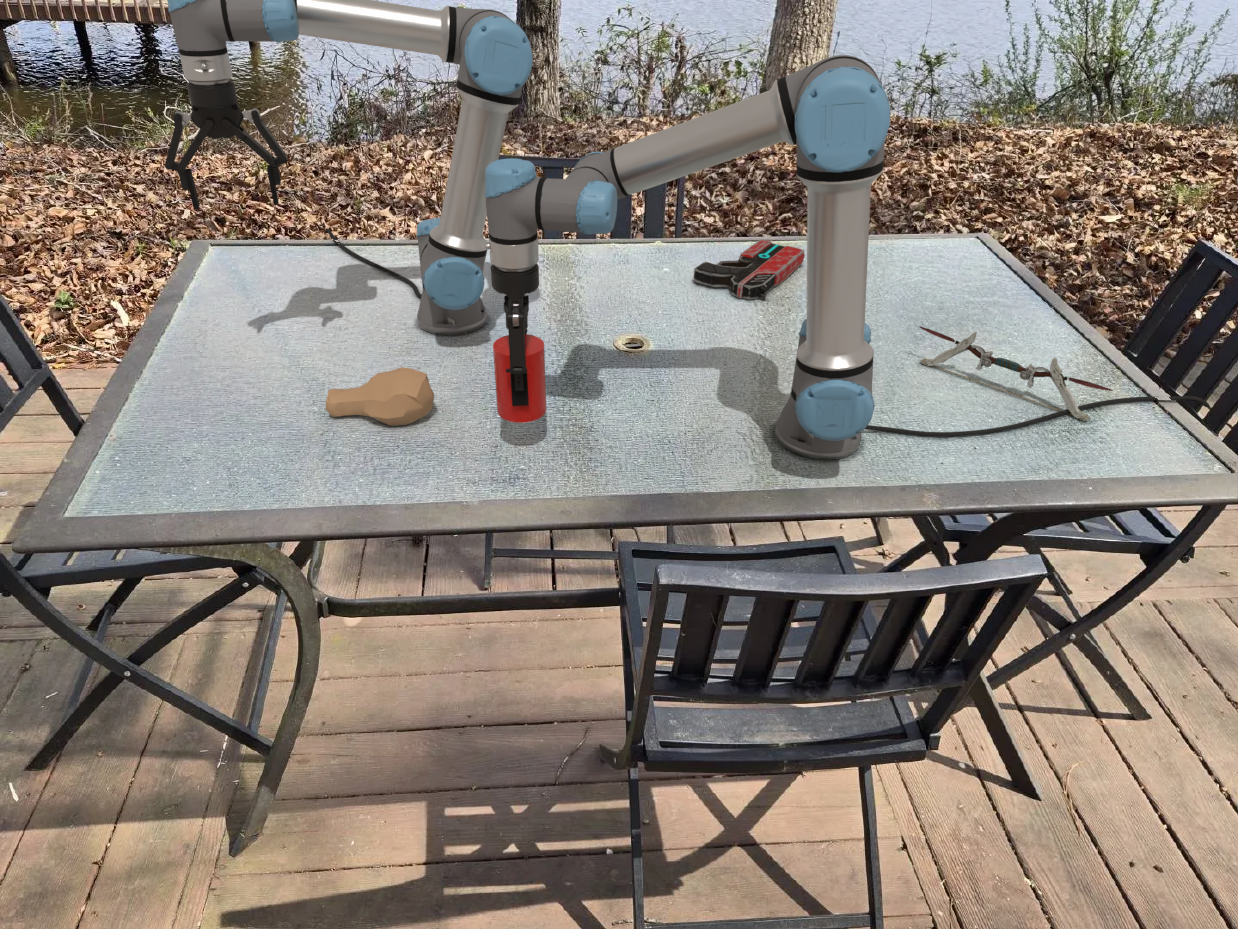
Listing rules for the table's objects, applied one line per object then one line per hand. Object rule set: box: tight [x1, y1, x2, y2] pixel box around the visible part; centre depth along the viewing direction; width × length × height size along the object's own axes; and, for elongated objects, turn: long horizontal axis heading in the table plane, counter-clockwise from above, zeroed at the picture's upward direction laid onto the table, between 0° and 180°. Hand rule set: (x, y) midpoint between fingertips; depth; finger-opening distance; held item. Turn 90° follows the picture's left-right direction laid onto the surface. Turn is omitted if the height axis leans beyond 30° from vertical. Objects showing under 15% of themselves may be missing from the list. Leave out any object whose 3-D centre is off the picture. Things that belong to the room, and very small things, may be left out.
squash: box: [325, 366, 435, 427], centre depth 160 cm, size 11×20×9 cm, turn 90°
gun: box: [692, 239, 806, 301], centre depth 223 cm, size 4×31×19 cm
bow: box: [918, 325, 1114, 422], centre depth 173 cm, size 39×2×10 cm, turn 47°
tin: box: [492, 333, 547, 424], centre depth 148 cm, size 8×8×12 cm
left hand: (237, 205), depth 160 cm, fingers open, 13 cm apart
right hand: (520, 391), depth 149 cm, fingers closed on tin, 8 cm apart
